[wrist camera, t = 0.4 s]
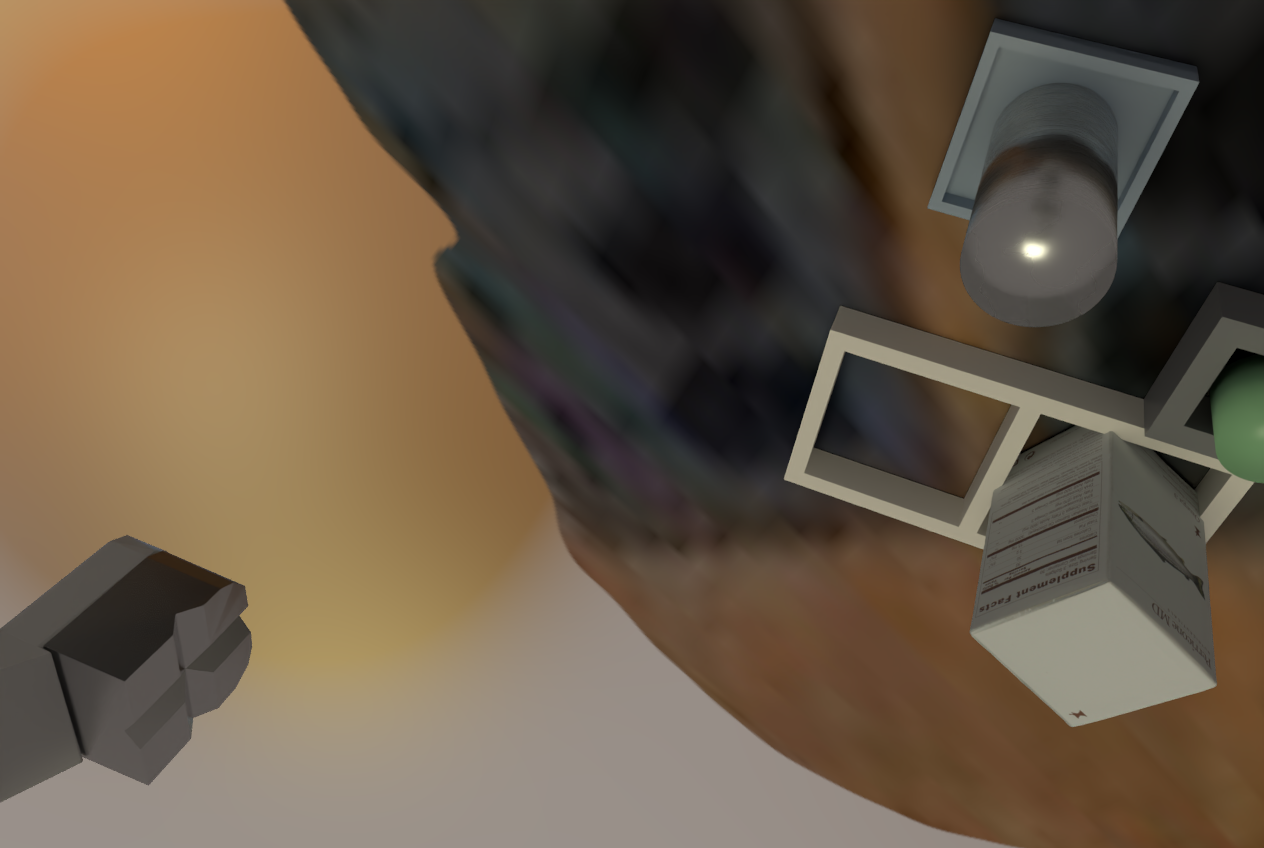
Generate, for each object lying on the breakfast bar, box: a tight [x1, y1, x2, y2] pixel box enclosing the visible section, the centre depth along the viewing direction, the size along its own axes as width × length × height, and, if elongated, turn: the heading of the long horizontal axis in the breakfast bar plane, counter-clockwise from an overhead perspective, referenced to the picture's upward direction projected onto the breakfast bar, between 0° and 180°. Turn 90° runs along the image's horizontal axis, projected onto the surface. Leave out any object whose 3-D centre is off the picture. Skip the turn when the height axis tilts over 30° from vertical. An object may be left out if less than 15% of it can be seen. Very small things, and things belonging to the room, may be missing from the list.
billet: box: [960, 83, 1118, 327], centre depth 37 cm, size 5×5×11 cm
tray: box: [928, 18, 1199, 239], centre depth 41 cm, size 8×8×2 cm
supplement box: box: [970, 425, 1217, 727], centre depth 47 cm, size 7×7×13 cm
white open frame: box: [784, 306, 1254, 549], centre depth 51 cm, size 21×11×2 cm, turn 83°
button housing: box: [1144, 282, 1264, 459], centre depth 43 cm, size 7×7×3 cm
